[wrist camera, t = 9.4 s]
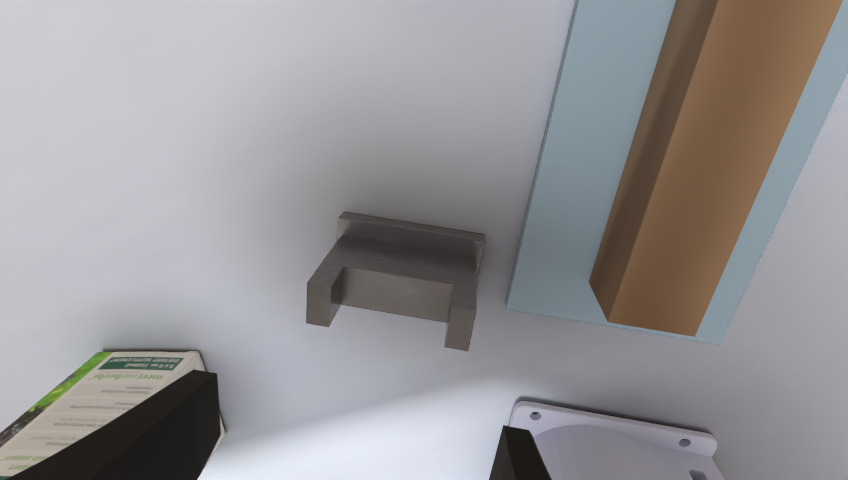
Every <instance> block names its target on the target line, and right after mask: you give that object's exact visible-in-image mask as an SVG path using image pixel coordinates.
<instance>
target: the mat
mask: <svg viewBox="0 0 848 480" xmlns="http://www.w3.org/2000/svg"><path fill="white" fill-rule="evenodd" d="M675 2H676V0H576V2H575V6H574V10H573V14H572V19H571V23H570V27H569V32H568V36H567V40H566V44H565V49H564V53H563V57H562V62H561V66H560V70H559V75H558V79H557V83H556V87H555V92H554V96H553V100H552V105H551V109H550V113H549V117H548V122H547V126H546V130H545V135H544V139H543V143H542V148H541V152H540V156H539V160H538V165H537V169H536V173H535V178H534V182H533V186H532V190H531V195H530V199H529V203H528V208H527V212H526V216H525V220H524V225H523V229H522V233H521V238H520V242H519V246H518V251H517V255H516V259H515V263H514V268H513V272H512V276H511V281H510V285H509V289H508V293H507V298H506V309H509V310H515V311H521V312H527V313H533V314H539V315H545V316H551V317H557V318H562V319H568V320H574V321H580V322H586V323H592V324H598V325H604V326H610V327H616V328H622V329H628V330H634V331H640V332H646V333H652V334H658V335H663V336H669V337H675V338H681V339H687V340H693V341H699V342H705V343H711V344H717V345H719V344H720V342H721V340H722V338H723V336H724V334H725V332H726V330H727V327H728V325H729V323H730V321H731V319H732V317H733V315H734V313H735V310H736V308H737V306H738V304H739V302H740V300H741V298H742V296H743V293H744V291H745V289H746V287H747V285H748V283H749V281H750V279H751V276H752V274H753V272H754V270H755V268H756V266H757V264H758V262H759V259H760V257H761V255H762V253H763V251H764V249H765V247H766V245H767V242H768V240H769V238H770V236H771V234H772V232H773V230H774V228H775V225H776V223H777V221H778V219H779V217H780V215H781V213H782V211H783V208H784V206H785V204H786V202H787V200H788V198H789V196H790V194H791V191H792V189H793V187H794V185H795V183H796V181H797V179H798V177H799V174H800V172H801V170H802V168H803V166H804V164H805V162H806V160H807V157H808V155H809V153H810V151H811V149H812V147H813V145H814V143H815V140H816V138H817V136H818V134H819V132H820V130H821V128H822V126H823V123H824V121H825V119H826V117H827V115H828V113H829V111H830V109H831V106H832V104H833V102H834V100H835V98H836V96H837V94H838V92H839V89H840V87H841V85H842V83H843V81H844V79H845V77H846V75H847V72H848V0H843V2H842V4H841V6H840V9H839V11H838V13H837V15H836V18H835V20H834V22H833V24H832V27H831V29H830V31H829V33H828V36H827V38H826V40H825V43H824V45H823V47H822V49H821V52H820V54H819V56H818V58H817V61H816V63H815V65H814V68H813V70H812V72H811V74H810V77H809V79H808V81H807V83H806V86H805V88H804V90H803V92H802V95H801V97H800V99H799V102H798V104H797V106H796V108H795V111H794V113H793V115H792V117H791V120H790V122H789V124H788V127H787V129H786V131H785V133H784V136H783V138H782V140H781V142H780V145H779V147H778V149H777V151H776V154H775V156H774V158H773V161H772V163H771V165H770V167H769V170H768V172H767V174H766V176H765V179H764V181H763V183H762V186H761V188H760V190H759V192H758V195H757V197H756V199H755V201H754V204H753V206H752V208H751V210H750V213H749V215H748V217H747V220H746V222H745V224H744V226H743V229H742V231H741V233H740V235H739V238H738V240H737V242H736V245H735V247H734V249H733V251H732V254H731V256H730V258H729V260H728V263H727V265H726V267H725V269H724V272H723V274H722V276H721V279H720V281H719V283H718V285H717V288H716V290H715V292H714V294H713V297H712V299H711V301H710V303H709V306H708V308H707V310H706V313H705V315H704V317H703V319H702V322H701V324H700V326H699V328H698V331H697V333H696V335H695V337H692V336H686V335H680V334H674V333H669V332H663V331H657V330H651V329H645V328H639V327H633V326H627V325H621V324H615V323H609V322H607V320H606V318H605V316H604V313H603V311H602V309H601V307H600V305H599V303H598V301H597V299H596V297H595V295H594V293H593V291H592V288H591V286H590V284H589V279H590V276H591V272H592V269H593V266H594V263H595V259H596V256H597V253H598V250H599V247H600V243H601V240H602V237H603V234H604V231H605V227H606V224H607V221H608V218H609V214H610V211H611V208H612V205H613V202H614V198H615V195H616V192H617V189H618V185H619V182H620V179H621V176H622V173H623V169H624V166H625V163H626V160H627V157H628V153H629V150H630V147H631V144H632V140H633V137H634V134H635V131H636V128H637V124H638V121H639V118H640V115H641V111H642V108H643V105H644V102H645V99H646V95H647V92H648V89H649V86H650V83H651V79H652V76H653V73H654V70H655V66H656V63H657V60H658V57H659V54H660V50H661V47H662V44H663V41H664V37H665V34H666V31H667V28H668V25H669V21H670V18H671V15H672V12H673V9H674V5H675Z"/></svg>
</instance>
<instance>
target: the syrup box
mask: <svg viewBox="0 0 848 480" xmlns="http://www.w3.org/2000/svg"><path fill="white" fill-rule="evenodd" d="M193 369H194V370H200V371H205V368H204V365H203V362H202V359H201V357H200V353H199V352H198V351H187V352H98V353H97V354H95V355H94V356H93V357H92V358H91V359H89V360H88V361H87V362H86V363H85V364H83V365H82V366H81V367H80V368H79V369H77V370H76V371H75V372H74V373H73V374H72V375H70V376H69V377H68V378H66V379H65V380H64V381H63V382H62V383H60V384H59V385H58V386H57V387H56V388H54V389H53V390H52V391H51V392H49V393H48V394H47V395H46V396H45V397H43V398H42V399H41V400H40V401H38V402H37V403H36V404H35V405H34V406H33V407H31V408H30V409H29V410H28V411H27V412H25V413H24V414H23V415H22V416H21V417H19V418H18V419H17V420H16V421H14V422H13V423H12V424H11V425H10V426H8V427H7V428H6V429H5V430H4V431H2V432H1V433H0V480H5V479H7V478H9V477H11V476H13V475H15V474H17V473H19V472H21V471H23V470H25V469H27V468H29V467H31V466H33V465H35V464H37V463H39V462H41V461H43V460H44V459H46V458H48V457H50V456H52V455H54V454H55V453H57V452H59V451H61V450H62V449H64V448H66V447H68V446H69V445H71V444H73V443H75V442H76V441H78V440H80V439H81V438H83V437H85V436H87V435H88V434H90V433H92V432H94V431H95V430H97V429H99V428H101V427H102V426H104V425H106V424H107V423H109V422H111V421H112V420H114V419H115V418H117V417H119V416H120V415H122V414H123V413H125V412H127V411H128V410H130V409H132V408H133V407H135V406H136V405H138V404H140V403H141V402H143V401H144V400H146V399H147V398H149V397H151V396H152V395H154V394H155V393H157V392H158V391H160V390H162V389H163V388H165V387H166V386H168V385H169V384H171V383H172V382H174V381H176V380H177V379H179V378H180V377H182V376H184V375H185V374H187V373H188V372H190V371H192V370H193ZM219 413H220V412H219ZM220 428H221V435H220V437H219V439H218V441H217V443H216V445H215V447H214V449H213V451H212V453H211V455H210V457H209V459H208V461H209V460H210V458H211V457H212V455H213V454H214V452H215V450H216V449H217V447H218V446H219V444H220V443H221V441H222V439H223V437H224V435H225V431H224V427H223V423H222V419H221V416H220ZM208 461H207V463H208ZM207 463H206V465H207ZM206 465H205V466H206ZM204 468H205V467H204ZM202 471H203V470H202Z"/></svg>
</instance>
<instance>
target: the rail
mask: <svg viewBox="0 0 848 480" xmlns="http://www.w3.org/2000/svg"><path fill="white" fill-rule="evenodd" d="M842 2H843V0H676V2H675V5H674V9H673V12H672V15H671V18H670V21H669V25H668V28H667V31H666V34H665V37H664V41H663V44H662V47H661V50H660V54H659V57H658V60H657V63H656V66H655V70H654V73H653V76H652V79H651V83H650V86H649V89H648V92H647V95H646V99H645V102H644V105H643V108H642V111H641V115H640V118H639V121H638V124H637V128H636V131H635V134H634V137H633V140H632V144H631V147H630V150H629V153H628V157H627V160H626V163H625V166H624V169H623V173H622V176H621V179H620V182H619V185H618V189H617V192H616V195H615V198H614V202H613V205H612V208H611V211H610V214H609V218H608V221H607V224H606V227H605V231H604V234H603V237H602V240H601V243H600V247H599V250H598V253H597V256H596V259H595V263H594V266H593V269H592V272H591V276H590V279H589V284H590V286H591V288H592V291H593V293H594V295H595V297H596V299H597V301H598V303H599V305H600V307H601V309H602V311H603V313H604V316H605V318H606V320H607V322H609V323H615V324H621V325H627V326H633V327H639V328H645V329H651V330H657V331H663V332H669V333H674V334H680V335H686V336H692V337H695V335H696V333H697V331H698V328H699V326H700V324H701V322H702V319H703V317H704V315H705V313H706V310H707V308H708V306H709V303H710V301H711V299H712V297H713V294H714V292H715V290H716V288H717V285H718V283H719V281H720V279H721V276H722V274H723V272H724V269H725V267H726V265H727V263H728V260H729V258H730V256H731V254H732V251H733V249H734V247H735V245H736V242H737V240H738V238H739V235H740V233H741V231H742V229H743V226H744V224H745V222H746V220H747V217H748V215H749V213H750V210H751V208H752V206H753V204H754V201H755V199H756V197H757V195H758V192H759V190H760V188H761V186H762V183H763V181H764V179H765V176H766V174H767V172H768V170H769V167H770V165H771V163H772V161H773V158H774V156H775V154H776V151H777V149H778V147H779V145H780V142H781V140H782V138H783V136H784V133H785V131H786V129H787V127H788V124H789V122H790V120H791V117H792V115H793V113H794V111H795V108H796V106H797V104H798V102H799V99H800V97H801V95H802V92H803V90H804V88H805V86H806V83H807V81H808V79H809V77H810V74H811V72H812V70H813V68H814V65H815V63H816V61H817V58H818V56H819V54H820V52H821V49H822V47H823V45H824V43H825V40H826V38H827V36H828V33H829V31H830V29H831V27H832V24H833V22H834V20H835V18H836V15H837V13H838V11H839V9H840V6H841V4H842Z"/></svg>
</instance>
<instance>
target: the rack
mask: <svg viewBox="0 0 848 480" xmlns="http://www.w3.org/2000/svg"><path fill="white" fill-rule="evenodd" d="M483 246H484V234H478V233H472V232H466V231H459V230H453V229H447V228H441V227H435V226H428V225H422V224H416V223H410V222H403V221H397V220H391V219H385V218H379V217H372V216H366V215H360V214H354V213H348V212H343V213H342V214H341V216H340V217H339V218H338V233H337V243H336V244H335V245H334V247H333V248H332V249H331V251H330V252H329V254H328V255H327V256H326V258H325V259H324V260H323V262H322V263H321V264H320V266H319V267H318V269H317V270H316V271H315V273H314V274H313V275H312V277H311V278H310V280H309V281H308V282H307V312H306V323H308V324H314V325H320V326H326V327H329V326H330V324H331V322H332V320H333V319H334V317H335V315H336V313H337V311H338V309H339V307H340V305H347V306H352V307H358V308H364V309H370V310H376V311H382V312H388V313H393V314H399V315H405V316H411V317H417V318H423V319H429V320H434V321H440V322H446V323H447V329H446V338H445V347H447V348H452V349H458V350H464V351H468V349H469V344H470V339H471V334H472V329H473V324H474V320H475V315H476V282H477V277H478V272H479V266H480V261H481V256H482V251H483Z"/></svg>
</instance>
